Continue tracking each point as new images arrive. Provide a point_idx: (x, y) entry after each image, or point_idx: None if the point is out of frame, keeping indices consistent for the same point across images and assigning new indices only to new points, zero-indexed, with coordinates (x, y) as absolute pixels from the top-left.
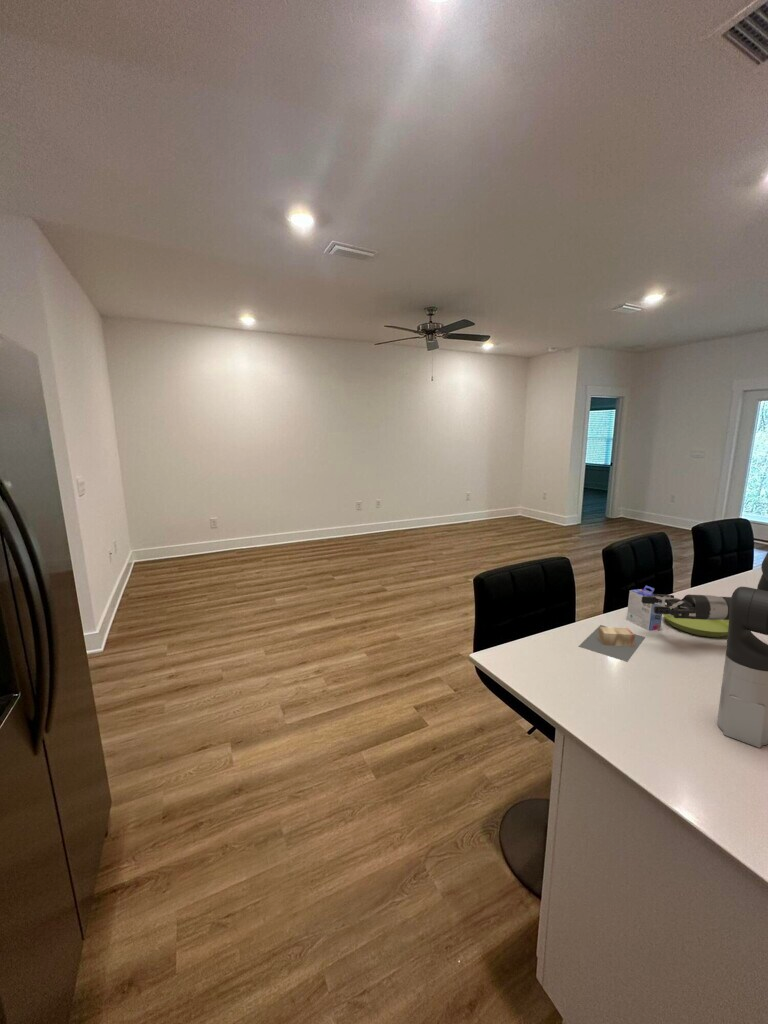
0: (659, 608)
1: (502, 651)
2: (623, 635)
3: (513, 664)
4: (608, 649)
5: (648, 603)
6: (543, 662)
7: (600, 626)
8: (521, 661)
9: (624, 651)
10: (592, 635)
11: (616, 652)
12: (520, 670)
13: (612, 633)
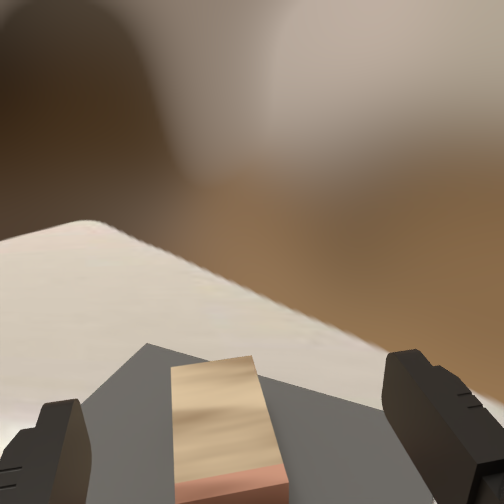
0: (30, 446)
1: (109, 239)
2: (173, 447)
3: (41, 253)
4: (129, 429)
5: (413, 462)
6: (45, 287)
7: None
8: (55, 260)
9: (111, 494)
10: (272, 386)
11: (97, 456)
12: (10, 261)
13: (174, 395)
